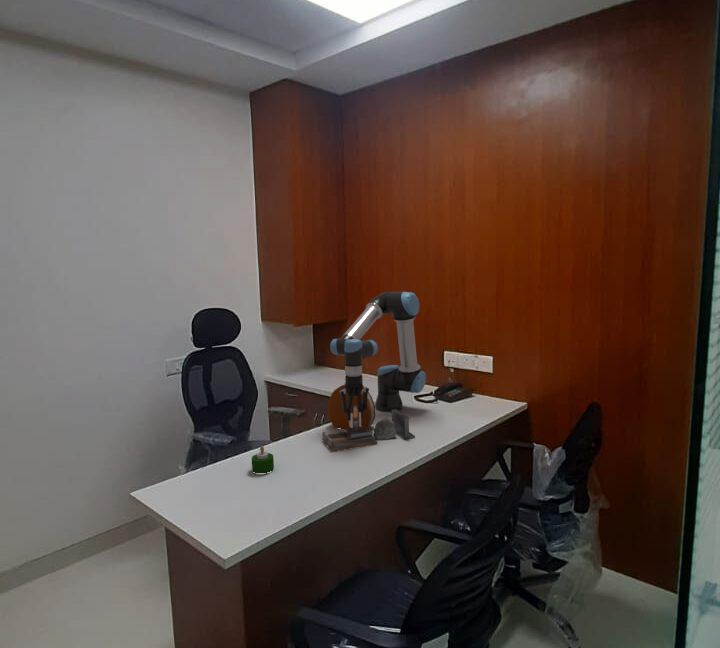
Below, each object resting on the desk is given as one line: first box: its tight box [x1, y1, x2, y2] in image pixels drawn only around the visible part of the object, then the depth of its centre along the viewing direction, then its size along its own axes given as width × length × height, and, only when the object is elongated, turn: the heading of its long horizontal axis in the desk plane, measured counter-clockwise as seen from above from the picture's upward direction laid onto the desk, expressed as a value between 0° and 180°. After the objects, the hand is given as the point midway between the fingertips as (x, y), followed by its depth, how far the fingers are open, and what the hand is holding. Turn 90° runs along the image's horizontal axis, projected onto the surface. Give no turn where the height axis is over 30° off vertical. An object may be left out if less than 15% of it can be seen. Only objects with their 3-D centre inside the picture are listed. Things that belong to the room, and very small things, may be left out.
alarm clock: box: [327, 381, 376, 430], centre depth 235 cm, size 22×10×23 cm, turn 65°
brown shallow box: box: [321, 431, 378, 452], centre depth 215 cm, size 14×21×4 cm, turn 111°
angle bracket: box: [391, 409, 416, 441], centre depth 224 cm, size 14×5×10 cm, turn 21°
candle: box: [251, 445, 275, 473], centre depth 188 cm, size 8×8×10 cm
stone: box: [373, 416, 397, 441], centre depth 221 cm, size 10×10×10 cm
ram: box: [344, 406, 374, 440], centre depth 216 cm, size 8×10×15 cm
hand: (355, 426), depth 216 cm, fingers closed on ram, 3 cm apart
